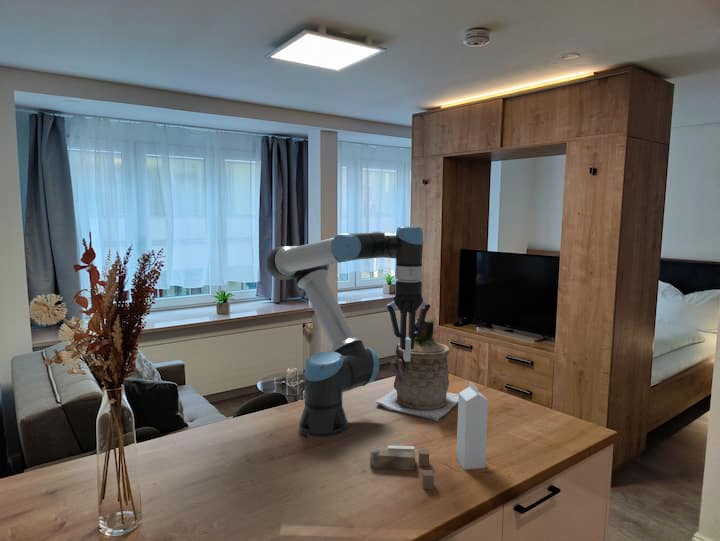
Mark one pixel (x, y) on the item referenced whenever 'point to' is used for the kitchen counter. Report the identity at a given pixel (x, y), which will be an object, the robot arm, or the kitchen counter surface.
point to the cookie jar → (421, 379)
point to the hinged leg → (392, 459)
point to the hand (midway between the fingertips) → (406, 360)
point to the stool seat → (423, 461)
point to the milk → (472, 428)
